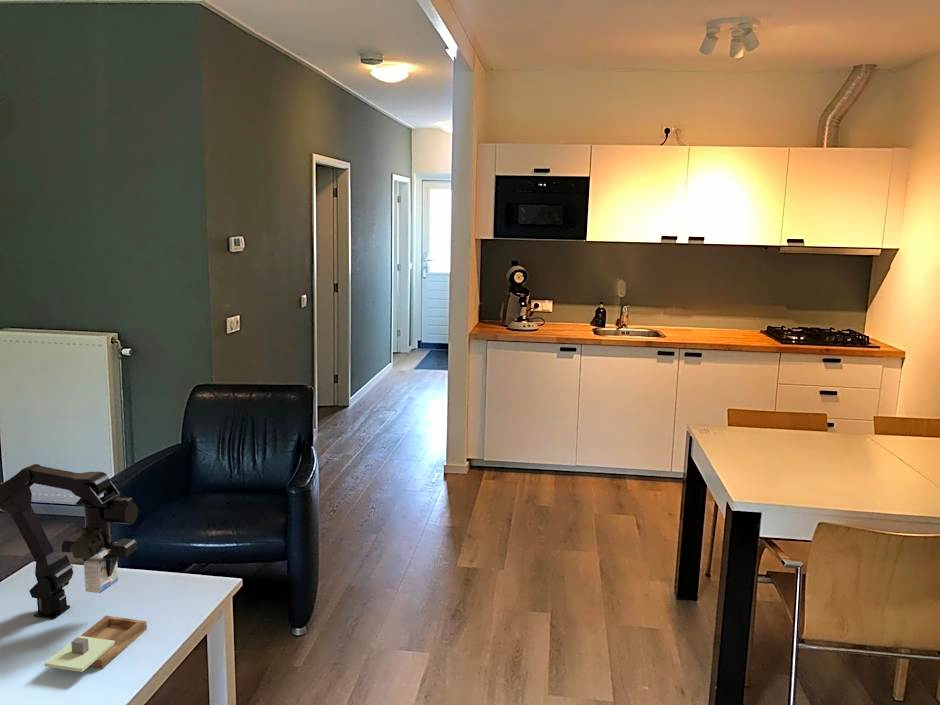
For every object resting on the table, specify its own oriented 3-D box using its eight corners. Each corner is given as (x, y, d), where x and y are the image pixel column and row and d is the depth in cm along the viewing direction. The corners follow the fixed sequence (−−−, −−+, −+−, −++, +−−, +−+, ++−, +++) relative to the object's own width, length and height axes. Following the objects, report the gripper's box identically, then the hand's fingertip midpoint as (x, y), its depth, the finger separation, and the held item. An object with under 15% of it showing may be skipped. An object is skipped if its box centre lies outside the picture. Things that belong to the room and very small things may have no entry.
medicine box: (100, 593, 199) (98, 562, 197) (84, 592, 199) (83, 560, 198) (118, 580, 206) (117, 550, 205) (103, 579, 207) (102, 549, 206)
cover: (44, 666, 179) (43, 651, 178) (79, 638, 190) (78, 624, 190) (82, 671, 177) (81, 657, 176) (115, 643, 189) (114, 629, 188)
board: (58, 662, 185) (57, 653, 184) (106, 623, 202) (105, 615, 202) (102, 669, 183) (101, 660, 182) (146, 629, 200) (146, 621, 200)
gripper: (43, 530, 193) (49, 586, 196) (110, 536, 190) (114, 593, 193) (73, 513, 204) (77, 566, 207) (136, 518, 201) (140, 573, 204)
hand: (101, 575), depth 202 cm, fingers closed on medicine box, 4 cm apart
